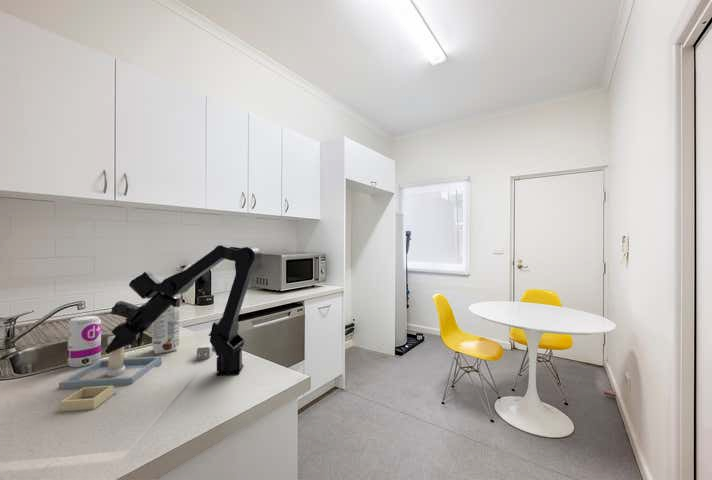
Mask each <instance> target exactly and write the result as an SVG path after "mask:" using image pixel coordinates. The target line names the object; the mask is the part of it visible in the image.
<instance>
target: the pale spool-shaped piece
mask: <svg viewBox="0 0 712 480" xmlns="http://www.w3.org/2000/svg"><path fill="white" fill-rule="evenodd" d="M114 338H115V335H114V334H113V335H110V336H108V337H107V346H109V345H110V343H111V342H112V341H113V339H114ZM107 359H108V368H107V369H106V370H105V376H106V378H107V377H108V378H114V377H117V376H120V375H123V374H124V373H126V369H125V365H124V359H125V346H124V347H121V348H119V349H117V350H115V351H113V352H110V353H108V358H107Z"/></svg>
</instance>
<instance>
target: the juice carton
mask: <svg viewBox="0 0 712 480" xmlns="http://www.w3.org/2000/svg"><path fill="white" fill-rule="evenodd" d="M173 297H174V296H173ZM174 298H175V299H176V298H177V297H174ZM151 328H152V329H151V338H152V339H151V340H152V341H151V342H152V343H151V344H152V345H151V346H152V349H153V351H154V355H159V354H163V353H169V352H175V350H176V351H177V350H178V348H179V345H180V307H173V306H172V305H171V306H170V307H169V308H168V309H167V310H166V311H165V312H164V313H163V314H162V315H161V316H159V317H158V318H157V319H156V320H155V321H154V322H153V323H152V325H151Z"/></svg>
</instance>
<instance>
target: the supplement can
mask: <svg viewBox="0 0 712 480" xmlns="http://www.w3.org/2000/svg"><path fill="white" fill-rule="evenodd" d="M101 343H102V320H101V318H100V317H99V315H94V314H93V315H84V316H83V315H82V316H78V317H74V318H71V319H70V321H69V322H68V324H67V365H68V364H69V365H68V366H69V367H71V368H81V367H88V366H91V365H92V364H94V363H96V362H98V361H100V360H102V354H101V353H102V347H101V346H102V345H101Z"/></svg>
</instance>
